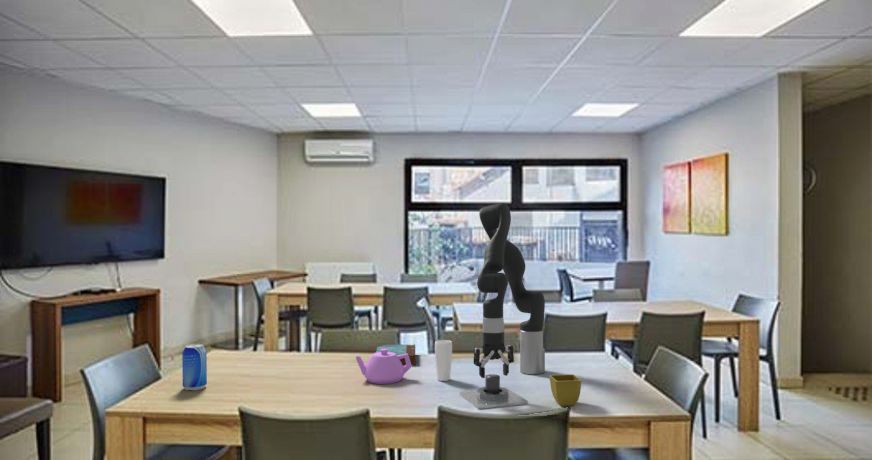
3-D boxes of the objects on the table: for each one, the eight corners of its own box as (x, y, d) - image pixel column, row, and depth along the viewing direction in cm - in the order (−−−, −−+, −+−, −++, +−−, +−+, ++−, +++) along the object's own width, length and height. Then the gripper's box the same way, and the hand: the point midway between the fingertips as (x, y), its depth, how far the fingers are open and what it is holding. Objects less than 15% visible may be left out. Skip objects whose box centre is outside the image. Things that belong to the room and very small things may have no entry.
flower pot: (549, 400, 209) (548, 374, 209) (573, 399, 210) (573, 373, 210) (556, 408, 200) (556, 381, 200) (582, 407, 201) (582, 380, 201)
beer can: (211, 386, 230) (211, 344, 229) (196, 392, 222) (195, 348, 222) (193, 384, 232) (193, 342, 232) (177, 390, 224) (177, 347, 224)
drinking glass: (450, 382, 233) (450, 343, 233) (433, 381, 234) (433, 343, 234) (453, 378, 240) (453, 340, 239) (436, 377, 241) (436, 339, 241)
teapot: (410, 373, 247) (410, 344, 247) (413, 384, 231) (413, 352, 231) (356, 375, 244) (356, 346, 244) (355, 386, 229) (355, 354, 229)
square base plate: (505, 389, 222) (505, 381, 222) (527, 403, 205) (527, 395, 205) (459, 394, 217) (459, 386, 217) (478, 409, 200) (478, 400, 200)
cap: (496, 393, 214) (496, 373, 214) (502, 397, 209) (502, 377, 209) (483, 394, 212) (483, 375, 212) (488, 398, 208) (488, 378, 208)
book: (415, 366, 261) (415, 354, 261) (374, 367, 261) (374, 355, 261) (415, 354, 284) (415, 344, 284) (377, 355, 284) (377, 344, 283)
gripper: (507, 326, 216) (508, 371, 217) (470, 329, 212) (471, 375, 212) (516, 330, 209) (517, 377, 209) (478, 333, 205) (479, 381, 205)
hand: (494, 376), depth 211 cm, fingers open, 8 cm apart
